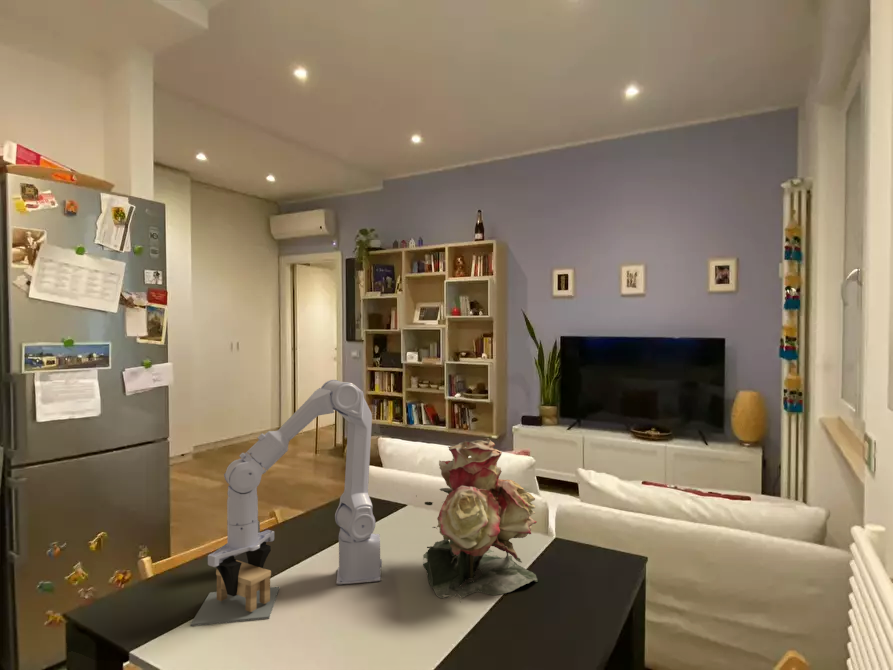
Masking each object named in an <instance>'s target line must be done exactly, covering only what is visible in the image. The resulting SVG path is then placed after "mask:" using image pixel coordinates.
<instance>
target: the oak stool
mask: <svg viewBox="0 0 893 670" xmlns="http://www.w3.org/2000/svg"><path fill="white" fill-rule="evenodd" d="M236 561H238V560H236ZM238 562H241V561H238ZM241 563H242V564H241V567H240V570H239V575H238V589H237V595H239V596H242V597H246V611H249V612H252V611H253V610H255V609H256V606H257V591H258V590H260V603H263V604H266V603H267V602H269V601H270V587H271V577H272V570H270V569H266V568H264V567H263V568H261V567H257V566H254V565H251V564H248V563H244V562H241ZM215 576H216V592H217V600H219V601H223V600H224V599H226V598H227V591H226V587H225V584H224V581H223V578H222V576H221V574H220V572H219V571H218V569H217V568H216V569H215Z"/></svg>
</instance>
